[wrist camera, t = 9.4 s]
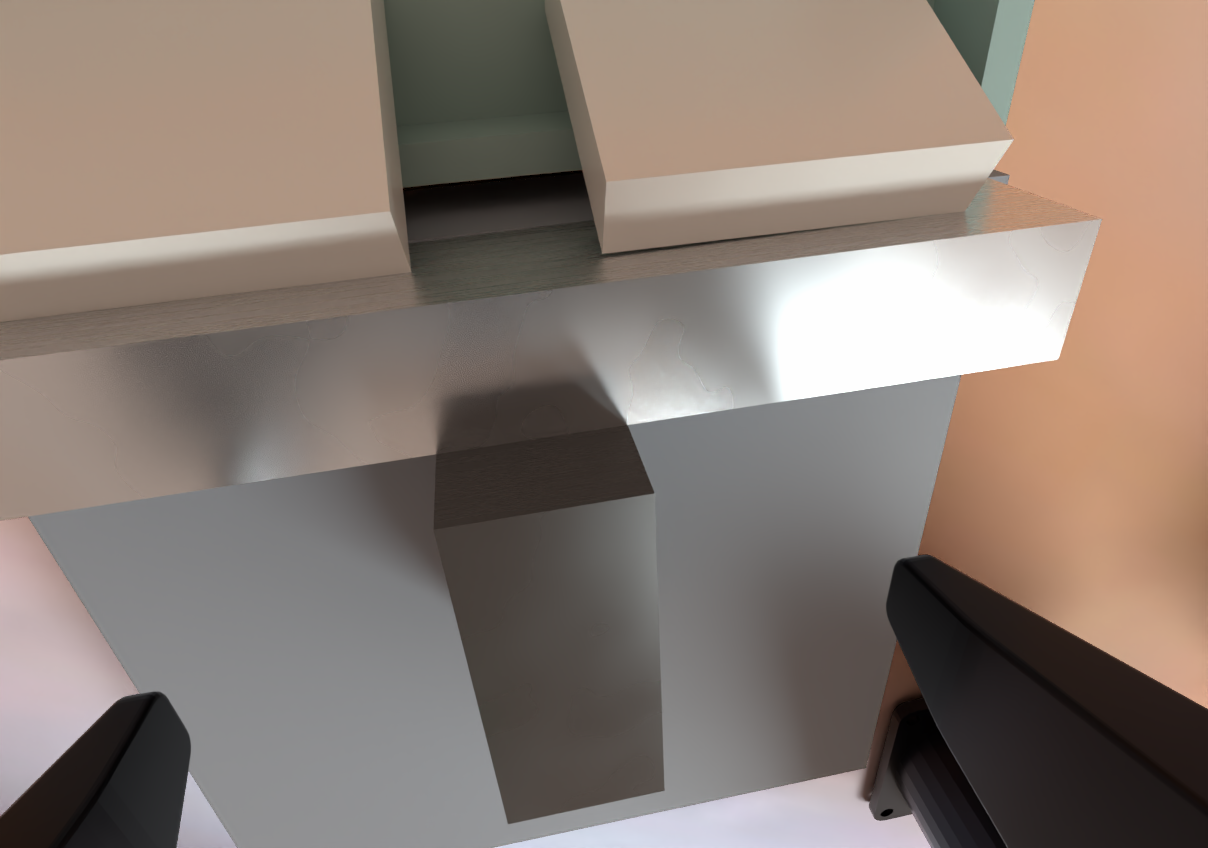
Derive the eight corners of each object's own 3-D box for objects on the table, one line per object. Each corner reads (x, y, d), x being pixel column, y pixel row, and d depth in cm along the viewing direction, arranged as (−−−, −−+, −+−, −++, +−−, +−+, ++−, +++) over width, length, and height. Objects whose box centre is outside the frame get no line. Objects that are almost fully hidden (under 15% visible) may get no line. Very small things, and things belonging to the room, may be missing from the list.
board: (819, 679, 22) (865, 768, 20) (290, 783, 20) (267, 896, 18) (907, 140, 14) (1009, 174, 11) (8, 230, 12) (-112, 297, 9)
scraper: (898, 555, 15) (1022, 713, 12) (169, 688, 14) (78, 916, 10) (979, 174, 11) (1207, 257, 8) (-68, 298, 9) (-358, 472, 6)
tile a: (964, 211, 10) (1014, 139, 9) (602, 253, 9) (606, 182, 8) (842, -13, 12) (869, -92, 11) (544, 10, 11) (542, -71, 10)
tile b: (411, 271, 9) (390, 211, 8) (-17, 324, 8) (-106, 266, 7) (383, -8, 11) (362, -90, 10) (27, 20, 10) (-39, -64, 9)
